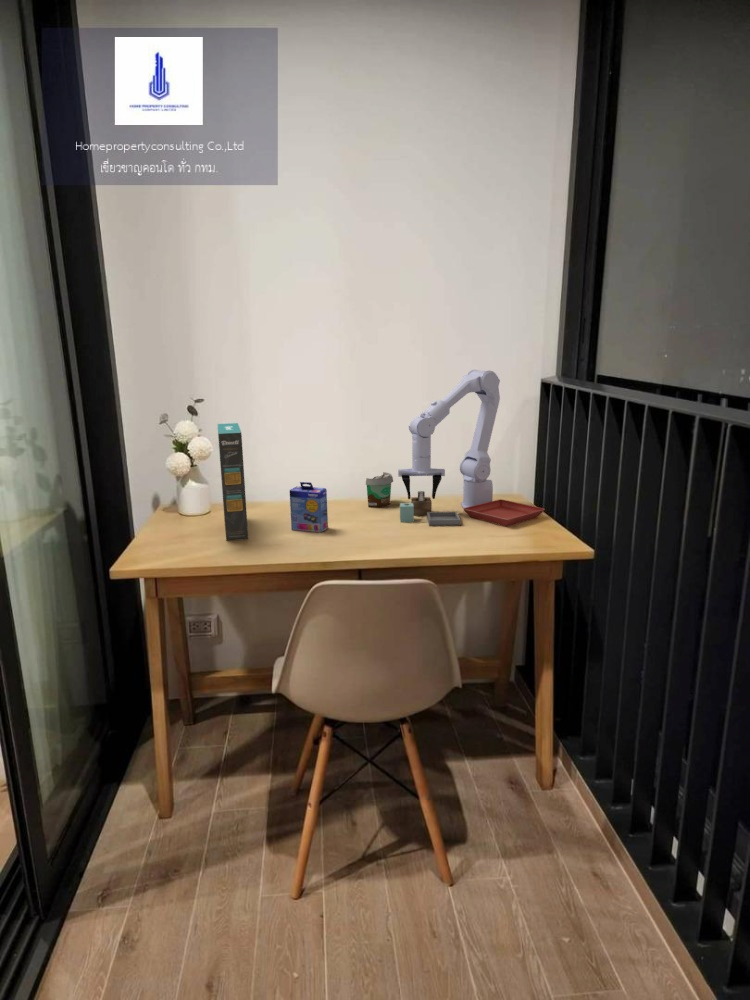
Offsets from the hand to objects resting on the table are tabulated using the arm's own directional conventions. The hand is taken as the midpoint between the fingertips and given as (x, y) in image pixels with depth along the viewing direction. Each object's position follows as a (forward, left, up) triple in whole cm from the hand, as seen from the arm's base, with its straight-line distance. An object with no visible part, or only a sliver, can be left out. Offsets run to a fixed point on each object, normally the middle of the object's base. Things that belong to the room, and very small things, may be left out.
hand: (421, 498), depth 202 cm
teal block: (+5, +8, -5) cm, 11 cm away
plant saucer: (-25, +6, -6) cm, 26 cm away
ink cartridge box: (+34, +16, -5) cm, 38 cm away
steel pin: (0, 0, -5) cm, 5 cm away
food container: (+12, -11, -5) cm, 17 cm away
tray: (-6, +10, -5) cm, 13 cm away
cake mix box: (+56, +15, -5) cm, 58 cm away
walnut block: (0, 0, -5) cm, 5 cm away
